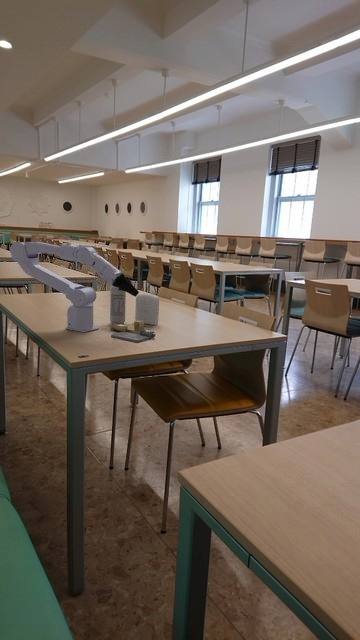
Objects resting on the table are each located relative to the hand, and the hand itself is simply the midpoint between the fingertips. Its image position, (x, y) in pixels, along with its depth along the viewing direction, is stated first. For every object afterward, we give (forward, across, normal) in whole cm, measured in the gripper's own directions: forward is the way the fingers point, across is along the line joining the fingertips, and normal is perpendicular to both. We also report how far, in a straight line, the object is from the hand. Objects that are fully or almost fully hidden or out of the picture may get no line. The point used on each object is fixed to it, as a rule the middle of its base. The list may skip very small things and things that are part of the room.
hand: (135, 293), depth 147 cm
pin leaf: (+9, 0, +13) cm, 16 cm away
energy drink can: (-2, +21, +14) cm, 25 cm away
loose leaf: (+5, +10, +12) cm, 17 cm away
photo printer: (+6, +25, +7) cm, 27 cm away
